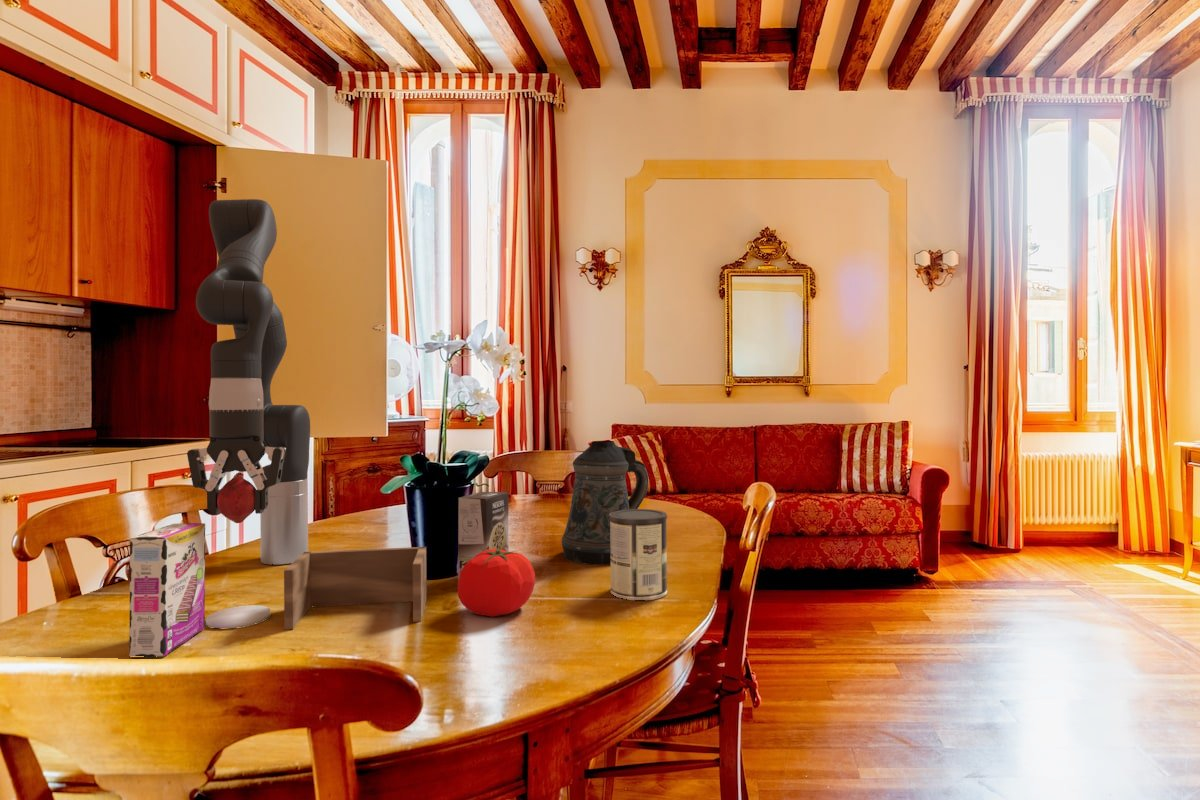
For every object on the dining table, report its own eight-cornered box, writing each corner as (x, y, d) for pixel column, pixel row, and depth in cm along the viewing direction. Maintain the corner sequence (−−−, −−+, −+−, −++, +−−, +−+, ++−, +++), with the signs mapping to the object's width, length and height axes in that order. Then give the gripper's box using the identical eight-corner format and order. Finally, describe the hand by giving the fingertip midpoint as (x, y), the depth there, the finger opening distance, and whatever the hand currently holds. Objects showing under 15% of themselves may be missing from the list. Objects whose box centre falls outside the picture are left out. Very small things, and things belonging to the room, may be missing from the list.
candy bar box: (166, 658, 91) (165, 537, 91) (127, 659, 90) (126, 538, 90) (208, 629, 102) (206, 521, 102) (173, 630, 102) (172, 522, 101)
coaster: (218, 611, 110) (218, 607, 110) (277, 608, 112) (277, 603, 112) (196, 631, 101) (196, 625, 101) (260, 627, 103) (260, 621, 103)
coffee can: (634, 580, 127) (634, 506, 127) (678, 591, 120) (678, 513, 120) (597, 592, 120) (597, 514, 120) (642, 605, 113) (642, 521, 113)
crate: (304, 605, 113) (304, 552, 113) (426, 598, 117) (426, 546, 117) (284, 629, 101) (283, 570, 101) (421, 621, 105) (420, 564, 105)
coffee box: (487, 585, 125) (486, 498, 124) (457, 582, 127) (456, 496, 127) (510, 573, 133) (509, 491, 133) (481, 570, 135) (481, 490, 135)
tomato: (452, 606, 112) (451, 545, 112) (525, 597, 117) (525, 538, 117) (466, 628, 102) (466, 560, 102) (546, 617, 107) (545, 552, 107)
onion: (240, 527, 103) (240, 475, 103) (208, 526, 104) (207, 474, 104) (266, 520, 108) (266, 471, 108) (235, 519, 110) (235, 470, 110)
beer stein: (546, 558, 145) (545, 442, 145) (597, 541, 161) (597, 437, 161) (609, 569, 136) (609, 445, 135) (657, 550, 152) (657, 439, 151)
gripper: (291, 406, 111) (292, 508, 111) (196, 407, 108) (198, 511, 109) (278, 407, 104) (279, 516, 104) (176, 408, 101) (177, 519, 101)
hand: (237, 513), depth 106 cm, fingers closed on onion, 5 cm apart
